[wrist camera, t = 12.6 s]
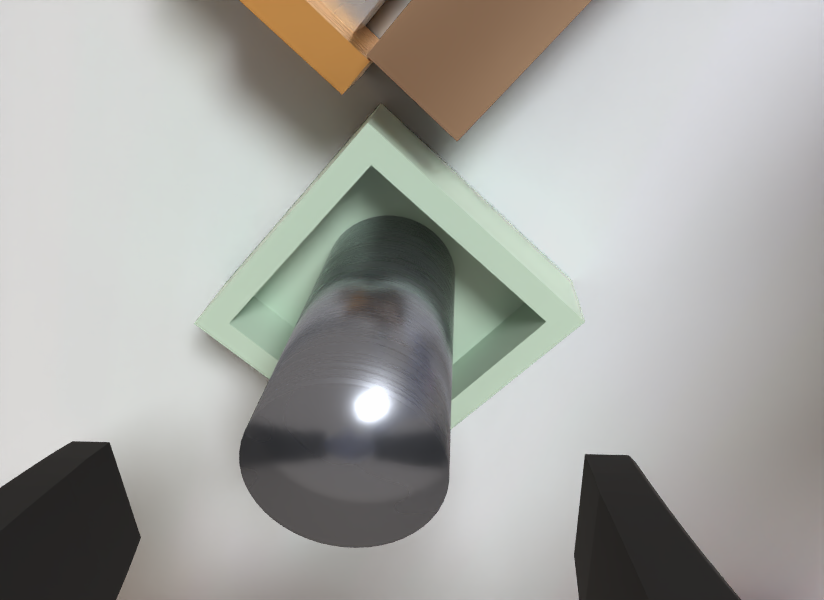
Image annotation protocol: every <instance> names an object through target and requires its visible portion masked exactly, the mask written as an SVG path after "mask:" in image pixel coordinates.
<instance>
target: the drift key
mask: <svg viewBox="0 0 824 600" xmlns="http://www.w3.org/2000/svg"><path fill="white" fill-rule="evenodd" d="M239 1H241V2H242V3H243V4H244V5H245V6H246V7H247V8H248V9H249V10H250V11H251V12H252V13H254V14H255V15H256V16H257V17H258V18H259V19H260V20H261V21H262V22H263V23H264V24H266V25H267V26H268V27H269V28H270V29H271V30H272V31H273V32H274V33H275V34H276V35H278V36H279V37H280V38H281V39H282V40H283V41H284V42H285V43H286V44H287V45H288V46H290V47H291V48H292V49H293V50H294V51H295V52H296V53H297V54H298V55H299V56H300V57H302V58H303V59H304V60H305V61H306V62H307V63H308V64H309V65H310V66H311V67H312V68H313V69H315V70H316V71H317V72H318V73H319V74H320V75H321V76H322V77H323V78H324V79H325V80H327V81H328V82H329V83H330V84H331V85H332V86H333V87H334V88H335V89H336V90H337V91H339V92H340V93H341V94H342V95H343V94H344V93H345V92H346V91H347V90H348V89H349V88H350V87H351V86H352V85H353V84H354V83H355V82H356V81H357V80H358V79H359V78H360V77H361V76H362V75H363V74H364V72H365V71H366V70H367V69H368V67H369V66H370V65H371V64H372V63H373V61H372V60H371V59H370V58H369V57H368V56H367V54H368V53H369V52H370V50H371V49H372V48H373V47H374V45H375V44H376V43H377V42H378V41H379V39H378V38H377V37H376V36H375V35H374V34H373V33H372V32H371V31H370V30H369V29H368V28H367V27H366V24H367V23H368V22H369V21H370V19H371V18H372V17H373V16H374V14H375V13H376V12H377V11H378V9H379V8H380V7H381V6H382V4H383V3H384V2H385V1H386V0H239Z"/></svg>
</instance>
